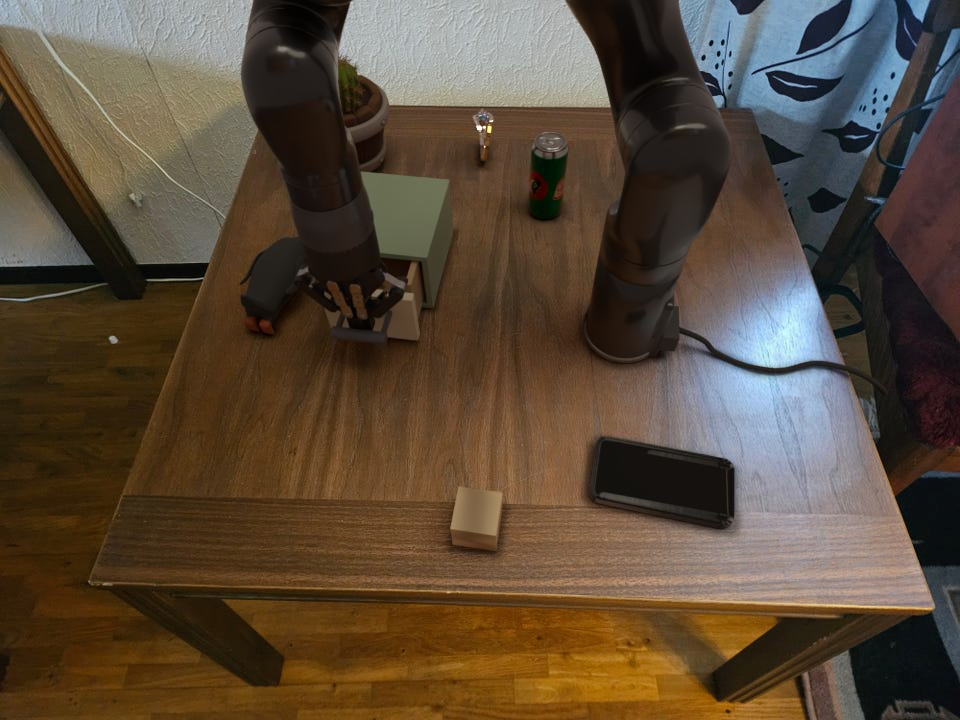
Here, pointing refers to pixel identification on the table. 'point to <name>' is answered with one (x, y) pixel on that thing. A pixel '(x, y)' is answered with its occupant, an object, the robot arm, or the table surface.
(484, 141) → the ring
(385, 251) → the cabinet
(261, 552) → the table surface
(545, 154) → the soda can
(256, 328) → the figurine
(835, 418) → the table surface
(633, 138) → the robot arm
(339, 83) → the flowerpot
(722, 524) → the phone
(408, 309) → the drawer
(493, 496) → the block
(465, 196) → the table surface
